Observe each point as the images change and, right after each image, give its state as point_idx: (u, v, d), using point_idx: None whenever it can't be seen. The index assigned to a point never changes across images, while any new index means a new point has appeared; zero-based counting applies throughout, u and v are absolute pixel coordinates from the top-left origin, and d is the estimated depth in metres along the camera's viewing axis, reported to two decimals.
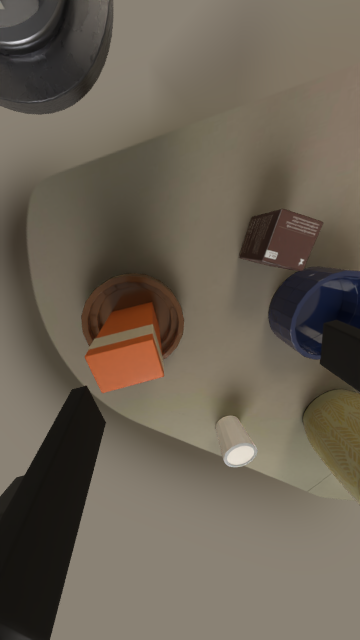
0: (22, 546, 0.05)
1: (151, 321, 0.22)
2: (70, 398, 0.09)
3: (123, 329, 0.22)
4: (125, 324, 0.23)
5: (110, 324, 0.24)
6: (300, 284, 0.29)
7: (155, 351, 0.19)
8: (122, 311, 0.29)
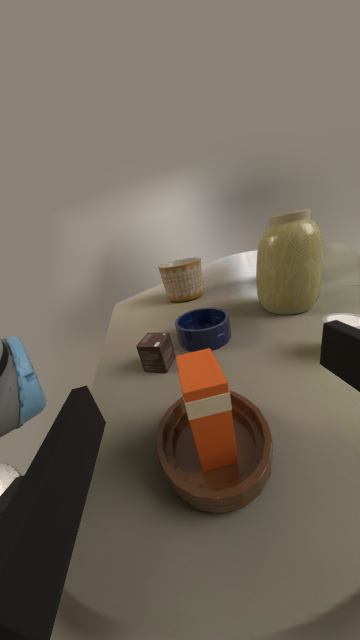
0: (22, 546, 0.05)
1: None
2: (70, 398, 0.09)
3: None
4: None
5: None
6: (183, 337, 0.49)
7: None
8: None
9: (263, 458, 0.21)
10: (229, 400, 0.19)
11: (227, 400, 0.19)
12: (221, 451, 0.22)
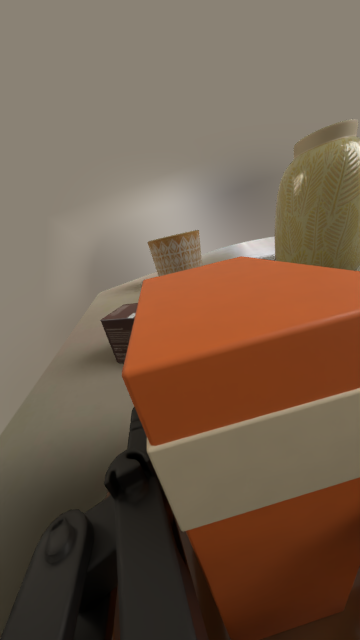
0: None
1: None
2: None
3: None
4: None
5: None
6: None
7: (174, 273, 0.08)
8: None
9: None
10: None
11: None
12: (305, 597, 0.06)
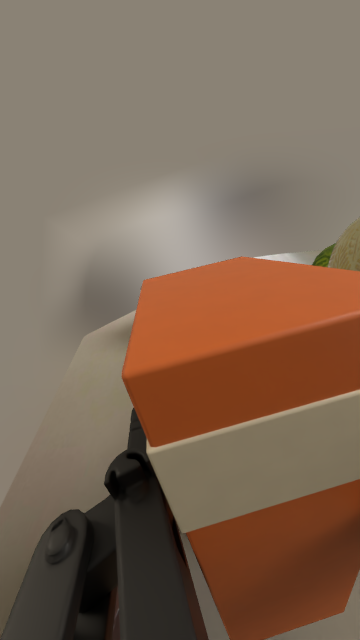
0: None
1: None
2: None
3: None
4: None
5: None
6: None
7: (174, 273, 0.08)
8: None
9: None
10: None
11: None
12: (305, 598, 0.06)
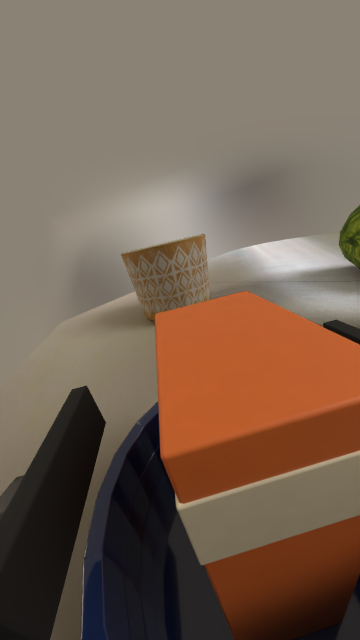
0: (22, 546, 0.05)
1: None
2: (70, 398, 0.09)
3: None
4: None
5: None
6: None
7: (183, 307, 0.09)
8: None
9: None
10: None
11: None
12: (306, 612, 0.07)
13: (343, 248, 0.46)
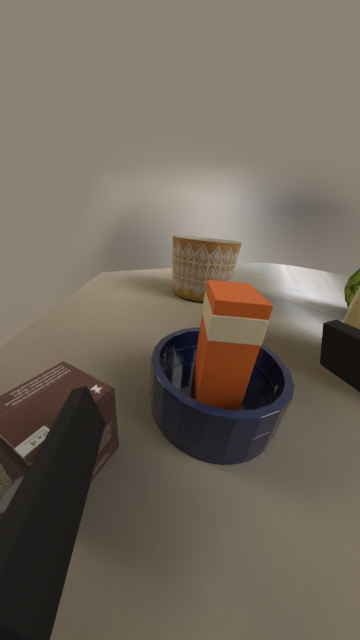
0: (22, 546, 0.05)
1: (201, 319, 0.22)
2: (70, 398, 0.09)
3: (204, 331, 0.19)
4: (202, 341, 0.20)
5: (201, 365, 0.19)
6: (158, 399, 0.18)
7: (220, 281, 0.20)
8: (195, 392, 0.21)
9: None
10: (264, 331, 0.16)
11: (262, 330, 0.16)
12: (226, 396, 0.19)
13: (345, 292, 0.55)
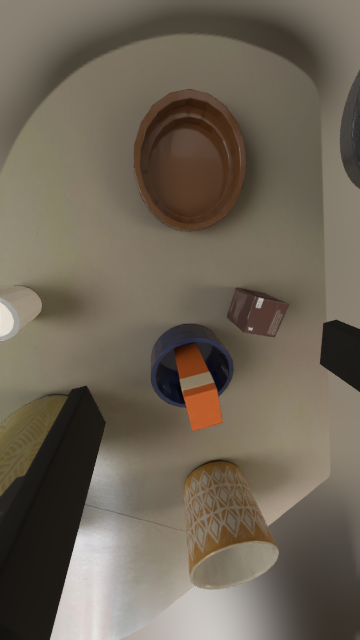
0: (22, 546, 0.05)
1: None
2: (70, 398, 0.09)
3: None
4: None
5: None
6: (219, 340, 0.34)
7: (213, 424, 0.28)
8: None
9: (146, 126, 0.23)
10: (181, 385, 0.27)
11: (183, 385, 0.27)
12: (184, 354, 0.34)
13: None
